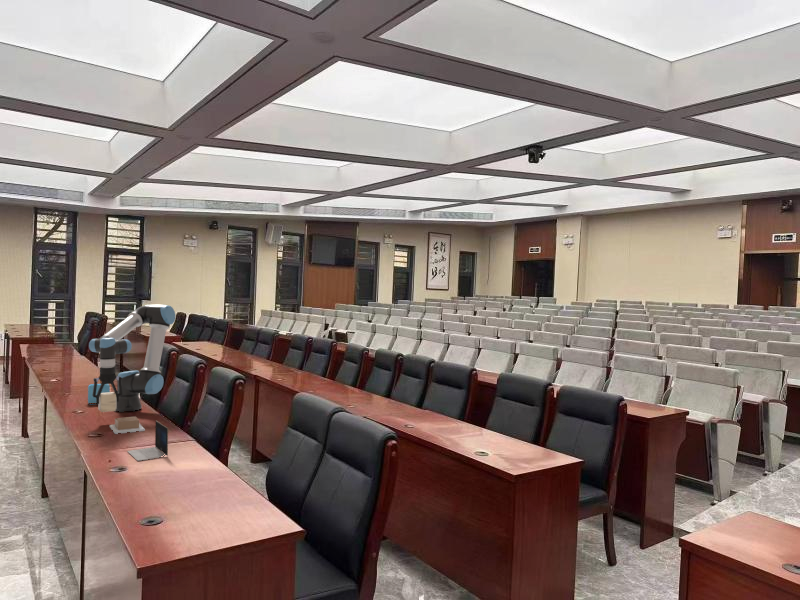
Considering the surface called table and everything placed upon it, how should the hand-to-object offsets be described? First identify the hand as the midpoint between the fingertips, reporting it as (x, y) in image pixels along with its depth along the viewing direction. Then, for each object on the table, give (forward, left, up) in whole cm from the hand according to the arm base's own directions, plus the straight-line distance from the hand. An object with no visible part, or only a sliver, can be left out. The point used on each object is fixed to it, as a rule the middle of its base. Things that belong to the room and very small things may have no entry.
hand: (107, 408), depth 319 cm
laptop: (+43, +59, -8) cm, 74 cm away
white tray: (+7, +18, -8) cm, 21 cm away
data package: (-43, -44, -8) cm, 62 cm away
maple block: (0, 0, -1) cm, 1 cm away
